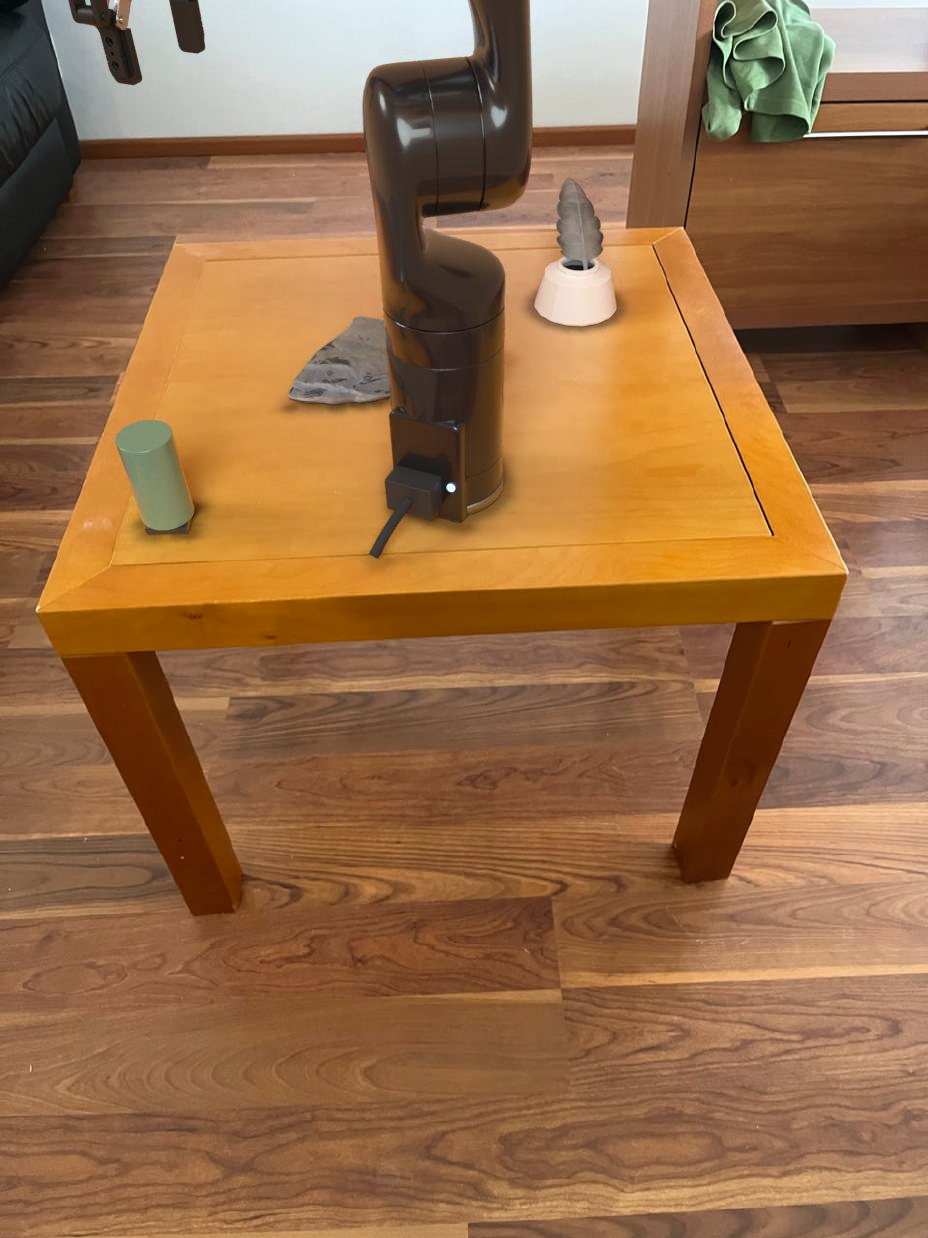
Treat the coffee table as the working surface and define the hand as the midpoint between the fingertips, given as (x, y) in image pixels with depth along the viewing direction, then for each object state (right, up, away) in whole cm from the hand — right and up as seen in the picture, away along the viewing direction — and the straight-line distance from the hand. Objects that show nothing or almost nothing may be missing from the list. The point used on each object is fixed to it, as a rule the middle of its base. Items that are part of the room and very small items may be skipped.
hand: (162, 66), depth 75 cm
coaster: (-1, -36, +5) cm, 36 cm away
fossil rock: (+17, -20, +20) cm, 33 cm away
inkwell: (+36, -7, +32) cm, 49 cm away
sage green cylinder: (-1, -35, +4) cm, 36 cm away
